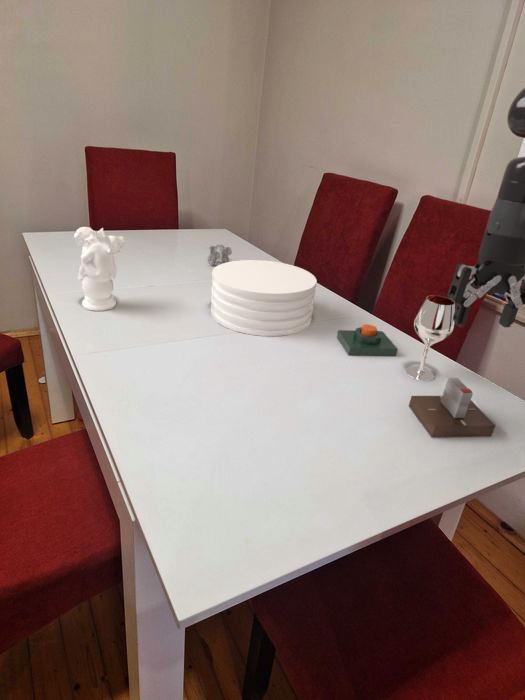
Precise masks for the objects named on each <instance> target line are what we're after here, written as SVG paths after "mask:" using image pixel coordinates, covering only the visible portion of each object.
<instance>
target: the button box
mask: <svg viewBox="0 0 525 700" xmlns="http://www.w3.org/2000/svg"><path fill="white" fill-rule="evenodd" d="M361 330H362V326H360V327H357V328H355V329H354V330H348V329H338V330H337V335H336V338H337V340H338V342H339V344H340V345H341V347H342V348H343V350H344V351H345V353H346V354H347V355H348V356H349V357H396V356H397V353H398V347H397V346H396V345H395V344H394V343H393V341H392V340H390V337H388V336H387V334H386V333H385V332H384V331H383V330H378V329H377V331H376V335H375V336H366V335H363V334H361Z"/></svg>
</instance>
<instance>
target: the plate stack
mask: <svg viewBox="0 0 525 700" xmlns="http://www.w3.org/2000/svg"><path fill="white" fill-rule="evenodd" d="M211 278H212V279H211V299H210V305H211V306H210V315H211V317H212V319H213V320H214V321H215V322H216V323H217V324H219V325H221V326H222V327H224V328H226V329H228V330H231V331H234V332H238V333H240V334H245V335H250V336H251V335H252V336H259V337H283V336H288V335H289V336H290V335H293V334H296V333H299V332H302V331H304V330H306V329H307V328H308V327H309V326H310V325H311V323H312V315H313V311H314V304H315V296H316V288H317V283H318V280H317V278H316V276H315V275H314V274H313V273H311V272H310V271H308V270H306V269H305V268H301V267H299V266H296V265H292V264H289V263H284V262H280V261H279V262H278V261H273V260H263V259H262V260H261V259H241V260H232V261H228V262H227V263H224V262H222V263H220V264H218V265H216V266H215V267H214V268H213V269H212V272H211Z"/></svg>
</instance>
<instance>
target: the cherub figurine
mask: <svg viewBox="0 0 525 700" xmlns="http://www.w3.org/2000/svg"><path fill="white" fill-rule="evenodd" d="M105 232H106V231H105V230H104V227H102V228H100V229H99V230H98V231H97V232H96V230H93V229H92V227H91V226H90V227H88V226H81V227H79V228H78V229H76V231H75V233H74V234H73V239H75V242H76V244H77V245H78V247H79V248H81V255H80V261H81V264H80V266H79V270H78V275H77V280H78V281H82V282H81V288H82V291H83V294H84V299H83V300H82V302H81V305H82V307H83V309H85V310H87V311H96V312H102V311H107V310H112V309H113V308H114V307H115V306H116V304H117V301H116V299H115V298H114V295H113V294H112V293H113V291H114V281H113V279H115V278H116V277H117V265H116V262H115V257H114V254H115V255H116V254H119V253H121V250H122V249H123V247H124V244H125V242H126V239H125V237H124V236H121V235H120V236H116V235H108V234H106V233H105Z"/></svg>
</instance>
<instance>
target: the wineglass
mask: <svg viewBox="0 0 525 700" xmlns="http://www.w3.org/2000/svg"><path fill="white" fill-rule="evenodd" d="M455 308H456V303H455V302H454V301H453V300H451V299H450V298H448V297H446V296H441V295H435V294H433V295H428V296H426V298H425V299H424V301H423V303H422V304H421V306H420V308H419V309H418V311H417V313H416V315H415V316H414V320H413V329H414V330H415V333H416V334H417V336H418V337H419V338H420V339H421V340H422V342H423V344H424V351H423V354H422V357H421V360H420V364H419V366H408V367H407V368H405V373H406V375H407V376H409V378H412V379H414V380H416V381H421V382H431V381H434V380H435V374H434V373H433V372H432V371H431V370H430V369H427V368H425V364H426V360H427V357H428V353H429V349H430V348H431V346H433V345H434V344H437V343H439V342H442V341H444V340H446V339H448V338H449V337H450V336H451V335H452V333H453V331H454V330H455V323H454V321H453V315H454V313H455Z"/></svg>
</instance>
